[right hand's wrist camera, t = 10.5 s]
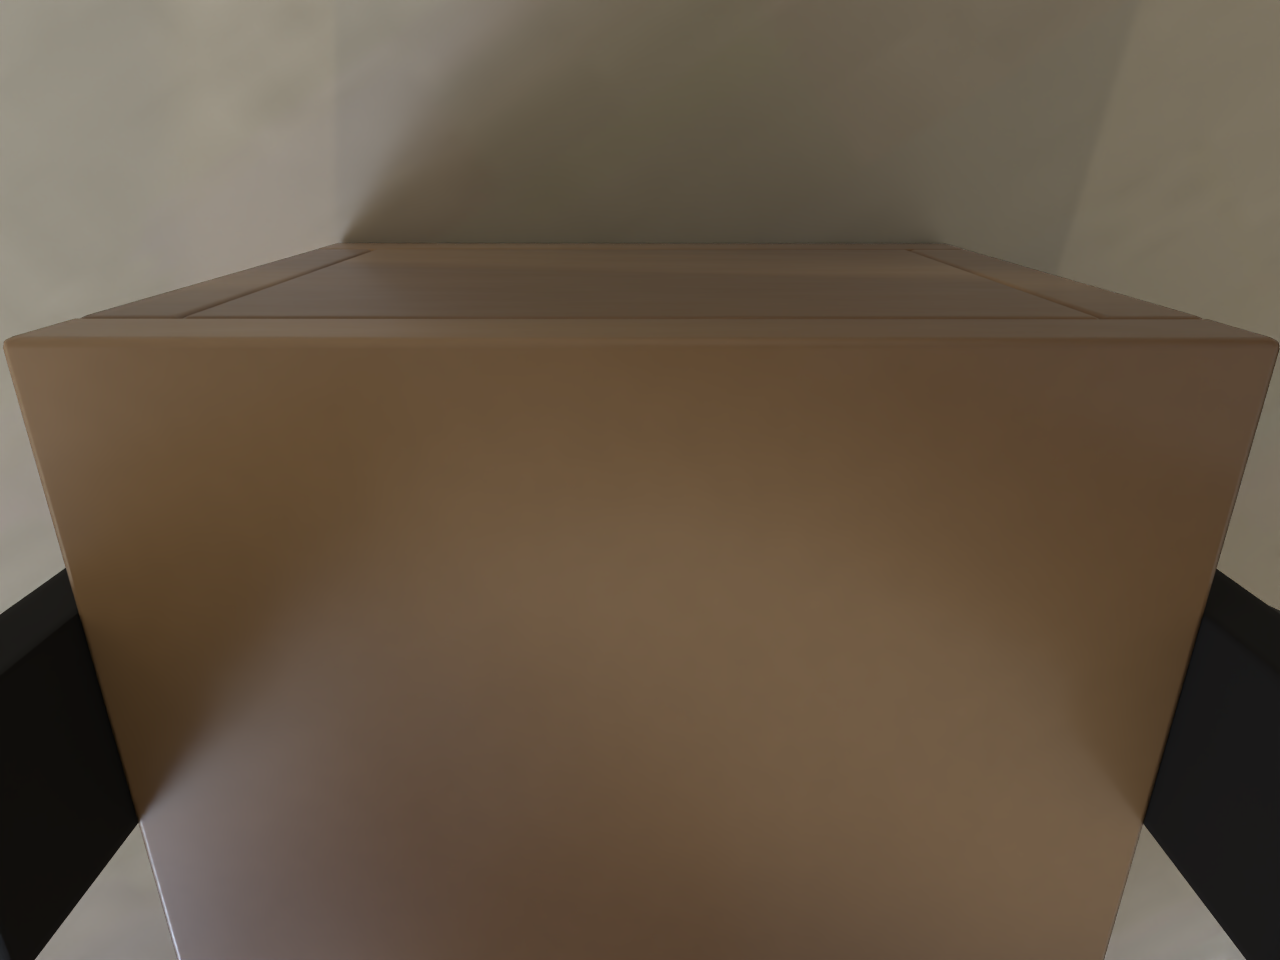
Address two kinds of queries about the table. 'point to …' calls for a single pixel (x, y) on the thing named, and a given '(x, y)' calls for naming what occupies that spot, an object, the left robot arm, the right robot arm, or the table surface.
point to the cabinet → (640, 593)
